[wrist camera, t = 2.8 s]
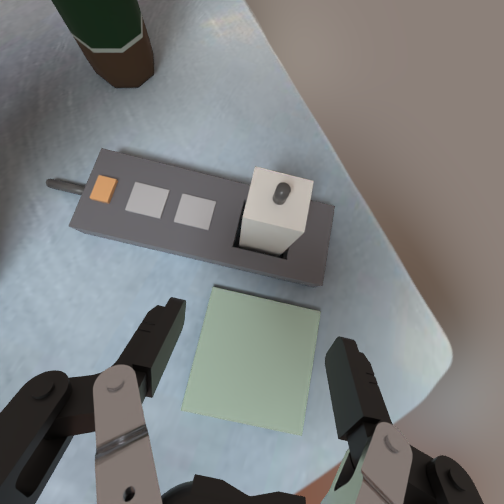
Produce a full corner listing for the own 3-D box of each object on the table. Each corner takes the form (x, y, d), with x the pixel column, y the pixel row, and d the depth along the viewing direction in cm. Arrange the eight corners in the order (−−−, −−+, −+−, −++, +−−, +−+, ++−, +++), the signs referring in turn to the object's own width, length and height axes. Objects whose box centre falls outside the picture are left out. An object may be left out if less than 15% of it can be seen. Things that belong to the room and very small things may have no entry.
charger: (238, 248, 26) (243, 209, 15) (246, 214, 27) (257, 154, 16) (277, 257, 26) (311, 225, 15) (284, 223, 27) (321, 170, 16)
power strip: (33, 221, 25) (8, 211, 22) (66, 150, 27) (46, 132, 24) (314, 287, 26) (323, 285, 23) (325, 214, 28) (336, 204, 25)
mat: (181, 408, 22) (180, 410, 22) (213, 286, 25) (212, 286, 25) (300, 432, 23) (301, 435, 22) (319, 311, 26) (320, 311, 25)
